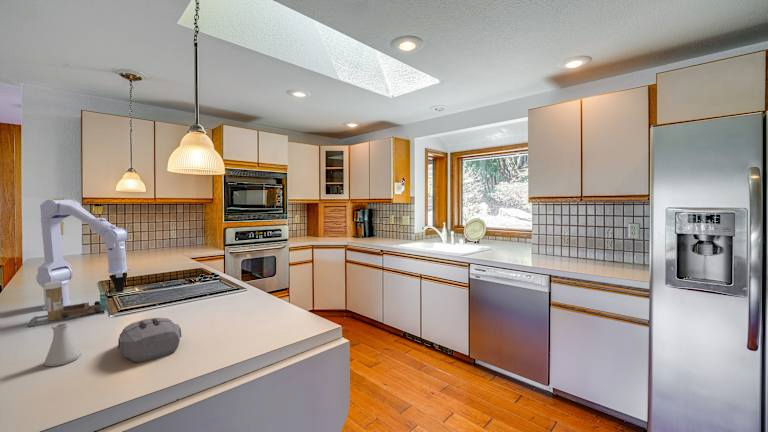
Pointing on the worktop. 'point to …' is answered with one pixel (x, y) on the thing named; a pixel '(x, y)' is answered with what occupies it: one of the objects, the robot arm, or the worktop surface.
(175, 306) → the worktop surface
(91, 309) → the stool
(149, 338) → the grey rounded bag
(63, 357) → the flask
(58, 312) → the sprinkles bottle
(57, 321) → the dark grey flat frame
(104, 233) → the robot arm
